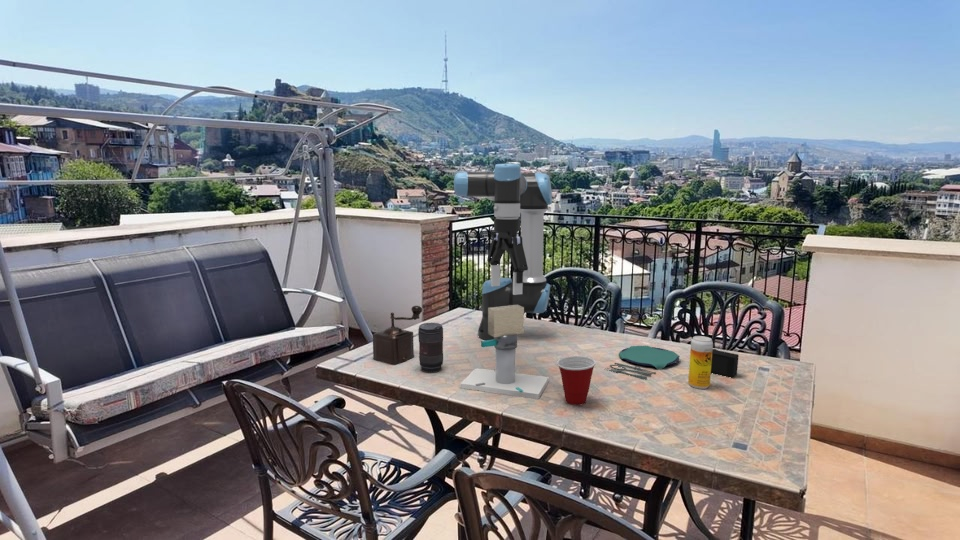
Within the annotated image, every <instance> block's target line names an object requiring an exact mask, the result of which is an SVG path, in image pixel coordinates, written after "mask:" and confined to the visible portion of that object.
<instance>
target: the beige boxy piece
mask: <svg viewBox="0 0 960 540" xmlns="http://www.w3.org/2000/svg"><path fill="white" fill-rule="evenodd" d="M524 318H525V312H524V307H522V306H520V305H509V306H500V307H491V308H488V334H489V335H491V336H493V337H494V339H493V340H482V341H480V346H481V348H489V347H494V348H495V349H496V348H497V349H501V350H512V349H515V348H516V349H517V348H518V335H520V334H524V331H525V330H524V327H525V326H524V325H525V319H524Z"/></svg>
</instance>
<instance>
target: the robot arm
mask: <svg viewBox="0 0 960 540" xmlns="http://www.w3.org/2000/svg"><path fill="white" fill-rule="evenodd" d="M521 169H522V168H521V166H520V165H519V164H518V163H498V164H496V165H495V166H494V172H493V171H492V172H491V171H487V172H486V171H481V172H479V171H477V172H476V171H474V172H473V171H469V172H468V171H463V172H462V171H461V172H457V173H456V174H455V176H454V179H453V189H454V190H453V191H454V193H455V195H456V196H457V197H465V198H467V197H468V198H474V197H475V198H477V197H478V198H486V199H487V200H489V201H492V202H493V201H494V204H493V205H494V206H493V211H494V212H493V213H494V214H493V215H494V217H495V218H494V220H493V231H494V232H493V233H491V234H492V235H491V243H490V245H489V246H490V247H489V251H488V255H487V257H486V259H487V260H486V261H487V262H488V263H489V264H490V266H491V267H490V279H488V280H485V281H484V282H483V283H482V291H481V294H482V295H481V297H482V300H481V302H482V303H481V305H482V307H481V308H482V309H481V310H482V313H481V315H482V316H481V320H480V323H479V326H478V329H477V337H478V336H479V337H478V338H480V339H482V340H484V341H486V340H493V339H494V337H493V336H491V335H489V334H488V308H491V307H500V306H509V305H520V306H522V307H524V313H526V314H527V313H529V314H544V312H546V310H547V308H548V304H549V299H550V292H551V284H549V283H547V278H546V277H545V276H544V275H543V274H544V271H543V270H544V269H543V268H544V266H543V265H544V221H545V220H544V216H545V213H546V212H547V211H548V209H549V206H550V205H552V203H553V192H552V182H551V178H550V177H549V175H548V174H547V173H545V172H544V173H541V172H521ZM519 218H520V219H519ZM519 232H520V236H519V235H518V236H517V234H516V233H519ZM504 252H506V253H507V254H508V256H509V258H510V261H511V263H512V266H513V271H512V275H513V276H512V278H511V277H501V259H502V257H503V254H504Z"/></svg>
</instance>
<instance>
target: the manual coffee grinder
mask: <svg viewBox="0 0 960 540" xmlns="http://www.w3.org/2000/svg"><path fill="white" fill-rule="evenodd" d="M410 310H411V312H412V316H411V317H406V316H401V317H400V316H398V317H395V312H390V321H391V322H390V323H391V326H390V327H388V328H386V329H384V330H381V331H378V332H374V333H372V352H373V353H372V355H373V357H372V359H373V360H374V361H378V362H381V363H383V364H384V363H385V364H388V365H392V366H395V365H398V364H401V363H403V362H404V363H405V362H406V361H408V360H410V359H412V358H414V357H415V352H414V332H413V331H410V330H406V329H402V328H401V327H398V326H396V325H395V320H396V321H402V320H403V321H412V320H414V321H416V320H417V319H420V315H421V313H423V308H422V307H421V306H419V305H413V306H412V307H411V309H410Z"/></svg>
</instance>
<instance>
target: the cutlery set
mask: <svg viewBox="0 0 960 540" xmlns="http://www.w3.org/2000/svg"><path fill="white" fill-rule="evenodd" d="M618 357H619V358H620V359H621V360H622V361H626V362H628V363H632V364H635V365H639V366H643V367H644V366H647V367H655V368H656V369H657V370H663V369H664V368H665V367H666V366H672V365H674V364H676V363H677V362H678V361H679V360H680V355H679V354H677V352H675V351H673V350H668V349H664V348H660V347H654V346H649V345H631V346H630V347H626V348H623V349H622V350H620V351H619V353H618ZM616 364H617V365H616ZM612 366H618V367H617V368H616V367H612ZM609 367H611V368H610V369H611V370H609V372H612V371H613V372H612V373H615V372H616V373H615V374H624V375H626V376H629V375H630V377H634V378H638V379H641V380H644V379H645V380H648V377H647V376H649V377H651V376H652V374H654V375H656V371H651V370H648V369H644V368H641V367H638V366H631V365H628V364H624V363H619V362H614V364H610V365H609ZM621 367H622V368H621ZM606 368H607V369H609V368H608V367H606ZM606 368H604V370H605V369H606ZM613 368H614V369H613ZM623 368H624V369H623ZM628 368H629V369H628ZM616 369H617V370H616ZM626 371H627V372H626ZM630 372H631V373H630ZM632 372H633V373H638V374H633V373H632ZM639 374H641V375H639ZM644 375H645V376H644ZM645 380H644V381H645Z"/></svg>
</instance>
